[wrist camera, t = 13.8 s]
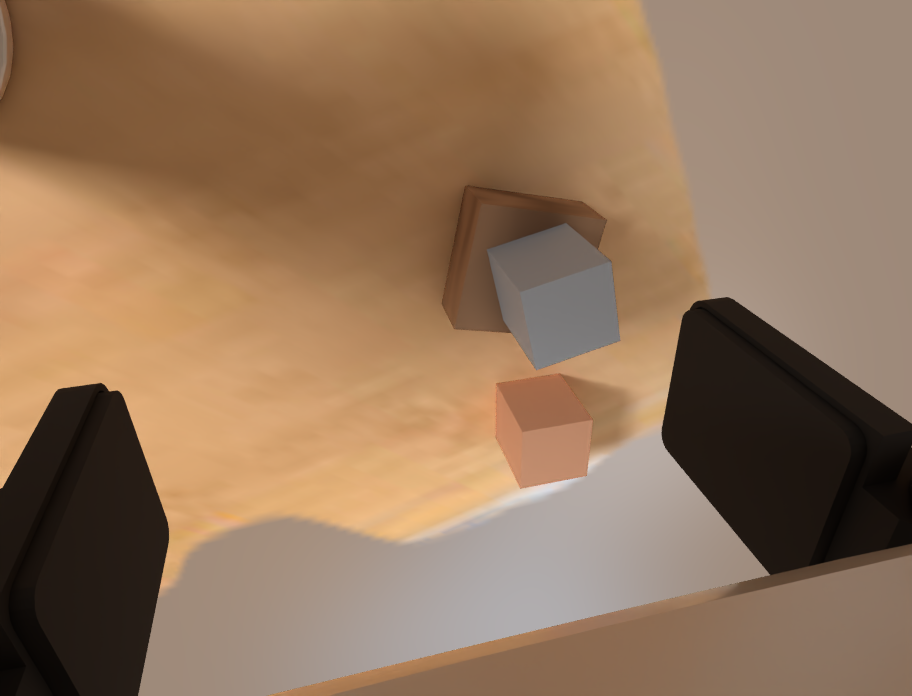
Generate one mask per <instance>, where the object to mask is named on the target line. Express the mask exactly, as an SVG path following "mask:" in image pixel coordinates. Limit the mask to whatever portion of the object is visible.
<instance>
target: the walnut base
mask: <svg viewBox="0 0 912 696" xmlns="http://www.w3.org/2000/svg"><path fill="white" fill-rule="evenodd" d="M606 221H607V220H606V219H605V218H603V217H602V216H601V215H599V214H598V213H597V212H595V211H594V210H593V209H591V208H590V207H589V206H587V205H586V204H584V203H583V202H580V201H573V200H566V199H558V198H551V197H544V196H537V195H530V194H522V193H515V192H508V191H501V190H494V189H486V188H479V187H472V186H465V190H464V195H463V200H462V205H461V210H460V215H459V220H458V225H457V230H456V235H455V240H454V245H453V250H452V255H451V260H450V265H449V270H448V275H447V280H446V285H445V290H444V295H443V300H442V305H443V307H444V309H445V311H446V313H447V315H448V317H449V319H450V321H451V323H452V325H453V328H454V329H461V330H476V331H491V332H506V333H511V331H510V330H509V328H508V327H507V325H506V324H505V322H504V321H503V317H502V312H501V308H500V304H499V300H498V295H497V291H496V287H495V282H494V278H493V274H492V270H491V265H490V261H489V257H488V252H487V249H490V248H493V247H496V246H499V245H502V244H505V243H508V242H511V241H514V240H517V239H520V238H523V237H526V236H529V235H532V234H535V233H538V232H541V231H544V230H547V229H550V228H553V227H556V226H559V225H562V224H565V223H567V224H568V225H569V226H570V227H571V228H573V229H574V230H575V231H576V232H577V233H579V234H580V235H581V236H582V237H583V238H584V239H586V240H587V241H588V242H589V243H590V244H592V245H593V246H594V247H595V248H596V249H597V250H598V247H599V243H600V240H601V237H602V234H603V231H604V228H605V224H606Z"/></svg>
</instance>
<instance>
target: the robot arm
mask: <svg viewBox="0 0 912 696" xmlns="http://www.w3.org/2000/svg"><path fill="white" fill-rule="evenodd" d="M13 49H14V48H13V38H12V28H11V19H10V16H9V13H8V9H7V6H6V2H5V0H0V100H1V98H2V97H3V94H4V91H5V89H6V86H7V83H8V80H9V78H10V75H11V67H12V58H13ZM662 440H663V443H664V446H665V448H666V449H667V450H668V452H669V453H670V455H671V456H672V457H673V458H674V459H675V461H676V462H677V463H678V464H679V465H680V467H681V468H682V469H683V470H684V471H685V473H686V474H687V475H688V476H689V477H690V479H691V480H692V481H693V482H694V483H695V485H696V486H697V487H698V488H699V489H700V491H701V492H702V493H703V494H704V495H705V497H706V498H707V499H708V500H709V502H710V503H711V504H712V505H713V506H714V507H715V509H716V510H717V511H718V512H719V514H720V515H721V516H722V517H723V518H724V520H725V521H726V522H727V523H728V524H729V526H730V527H731V528H732V529H733V531H734V532H735V533H736V534H737V535H738V537H739V538H740V539H741V540H742V541H743V543H744V544H745V545H746V546H747V547H748V548H749V550H750V551H751V552H752V553H753V555H754V556H755V557H756V558H757V559H758V561H759V562H760V563H761V564H762V566H764V568H765V569H766V570H767V571H768V573H769V574H770V576H765V577H761V578H756V579H752V580H748V581H744V582H739V583H735V584H730V585H727V586H722V587H718V588H713V589H709V590H705V591H700V592H696V593H692V594H688V595H683V596H679V597H675V598H670V599H666V600H662V601H658V602H654V603H649V604H646V605H641V606H637V607H632V608H628V609H624V610H620V611H616V612H612V613H607V614H603V615H599V616H594V617H590V618H586V619H582V620H577V621H574V622H569V623H565V624H561V625H557V626H552V627H548V628H544V629H540V630H536V631H532V632H528V633H523V634H519V635H515V636H510V637H506V638H502V639H498V640H494V641H489V642H485V643H481V644H477V645H473V646H469V647H464V648H460V649H456V650H452V651H448V652H444V653H440V654H436V655H432V656H427V657H424V658H420V659H416V660H412V661H407V662H403V663H399V664H395V665H391V666H387V667H383V668H379V669H374V670H370V671H366V672H362V673H358V674H354V675H349V676H345V677H341V678H337V679H333V680H329V681H325V682H321V683H317V684H313V685H309V686H305V687H300V688H296V689H292V690H288V691H284V692H280V693H276V694H272V695H268V696H912V448H911V446H912V424H911V423H910V422H908V421H907V420H906V419H904V418H902V417H901V416H900V415H898V414H897V413H895V412H894V411H893V410H891V409H890V408H888V407H887V406H885V405H884V404H883V403H881V402H880V401H878V400H877V399H875V398H874V397H873V396H871V395H870V394H868V393H867V392H865V391H864V390H862V389H861V388H860V387H858V386H857V385H855V384H854V383H852V382H851V381H849V380H848V379H847V378H845V377H844V376H842V375H841V374H839V373H838V372H837V371H835V370H834V369H832V368H831V367H829V366H828V365H827V364H825V363H824V362H822V361H821V360H819V359H818V358H816V357H815V356H814V355H812V354H811V353H809V352H808V351H806V350H805V349H804V348H802V347H801V346H799V345H798V344H796V343H795V342H794V341H792V340H791V339H789V338H788V337H786V336H785V335H783V334H782V333H780V332H779V331H778V330H776V329H775V328H773V327H772V326H771V325H769V324H768V323H766V322H765V321H763V320H762V319H760V318H759V317H758V316H756V315H755V314H753V313H752V312H750V311H749V310H748V309H746V308H745V307H743V306H742V305H740V304H739V303H738V302H736V301H735V300H733V299H731V298H728V297H725V298H717V299H710V300H702V301H697V302H695V303H694V304H693V305H692V307H691V308H690V310H688V311H687V312H685V314H684V315H683V318H682V323H681V328H680V333H679V339H678V344H677V350H676V355H675V361H674V366H673V371H672V377H671V382H670V388H669V393H668V399H667V404H666V409H665V415H664V420H663V426H662ZM168 543H169V528H168V522H167V519H166V516H165V513H164V510H163V507H162V504H161V502H160V499H159V496H158V493H157V490H156V487H155V485H154V482H153V479H152V476H151V473H150V471H149V468H148V465H147V462H146V459H145V457H144V454H143V451H142V448H141V445H140V442H139V440H138V437H137V434H136V431H135V428H134V426H133V423H132V420H131V417H130V414H129V412H128V409H127V406H126V403H125V400H124V398H123V396H122V394H121V393H120V392H119V391H110V392H109V391H108V389H107V388H106V386H105V385H104V384H102V383H98V384H91V385H84V386H76V387H69V388H62V389H58V390H57V391H56V393H55V394H54V396H53V398H52V399H51V401H50V403H49V405H48V407H47V408H46V410H45V412H44V414H43V416H42V417H41V419H40V421H39V423H38V425H37V427H36V428H35V430H34V432H33V434H32V436H31V437H30V439H29V441H28V443H27V445H26V446H25V448H24V450H23V452H22V454H21V455H20V457H19V459H18V461H17V463H16V465H15V466H14V468H13V470H12V472H11V474H10V475H9V477H8V479H7V481H6V483H5V484H4V486H3V488H1V489H0V696H138V693H139V688H140V683H141V677H142V673H143V668H144V663H145V658H146V652H147V648H148V643H149V638H150V633H151V628H152V623H153V618H154V613H155V608H156V603H157V598H158V593H159V588H160V583H161V578H162V573H163V568H164V563H165V558H166V553H167V548H168Z"/></svg>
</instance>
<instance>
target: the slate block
mask: <svg viewBox="0 0 912 696" xmlns="http://www.w3.org/2000/svg"><path fill="white" fill-rule="evenodd" d="M487 252H488V257H489V261H490V265H491V270H492V274H493V278H494V282H495V287H496V291H497V295H498V300H499V304H500V308H501V312H502V317H503V321H504V322H505V324H506V325H507V327H508V328H509V330H510V331H511V333H512V334H513V336H514V337H515V339H516V340H517V342H518V343H519V345H520V346H521V348H522V349H523V351H524V353H525V354H526V356H527V357H528V359H529V360H530V362H531V363H532V365H533V366H534V368H535V369H536V370H538V369H541V368H544V367H547V366H550V365H553V364H555V363H558V362H561V361H564V360H567V359H570V358H573V357H575V356H578V355H581V354H584V353H587V352H590V351H592V350H595V349H598V348H601V347H604V346H607V345H610V344H612V343H615V342H618V341H620V334H619V325H618V316H617V307H616V299H615V290H614V281H613V272H612V263H611V261H610V260H609V259H608V258H607V257H606V256H605V255H603V254H602V253H601V252H600V251H599V250H597V249H596V248H595V247H594V246H593V245H592V244H590V243H589V242H588V241H587V240H586V239H584V238H583V237H582V236H581V235H580V234H579V233H577V232H576V231H575V230H574V229H573V228H571V227H570V226H569V225H568V224H567V223H565V224H562V225H559V226H556V227H553V228H550V229H547V230H544V231H541V232H538V233H535V234H532V235H529V236H526V237H523V238H520V239H517V240H514V241H511V242H508V243H505V244H502V245H499V246H496V247H493V248H490V249H487Z"/></svg>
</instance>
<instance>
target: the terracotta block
mask: <svg viewBox="0 0 912 696" xmlns="http://www.w3.org/2000/svg"><path fill="white" fill-rule="evenodd" d="M592 424H593V419H592V418H591V416H590V415H589V414H588V412H587V411H586V409H585V408H584V407H583V405H582V404H581V402H580V401H579V400H578V398H577V397H576V395H575V394H574V393H573V391H572V390H571V388H570V387H569V386H568V384H567V383H566V382H565V380H564V379H563V377H562V376H561V375H560V374H554V375H548V376H541V377H535V378H529V379H522V380H516V381H509V382H503V383H497V384H496V439H497V441H498V443H499V445H500V447H501V449H502V451H503V453H504V455H505V457H506V460H507V462H508V464H509V466H510V468H511V470H512V472H513V474H514V476H515V478H516V481H517V483H518V485H519V487H520V489H521V488H526V487H531V486H536V485H542V484H547V483H552V482H557V481H562V480H568V479H573V478H578V477H583V476H587V469H588V460H589V451H590V442H591V433H592Z"/></svg>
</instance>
